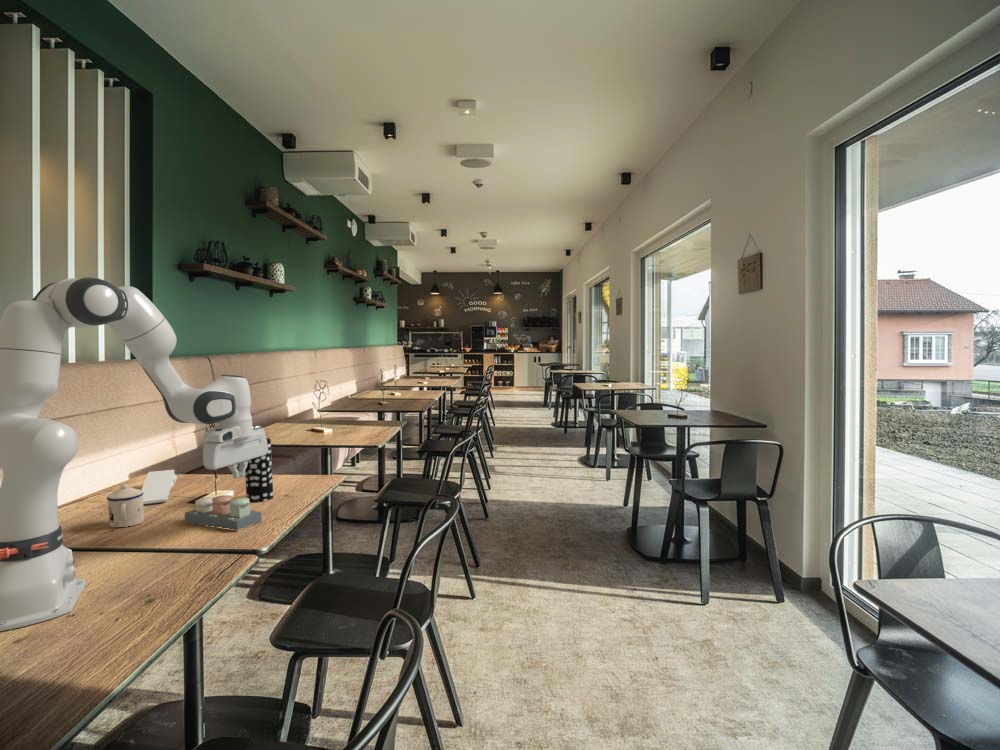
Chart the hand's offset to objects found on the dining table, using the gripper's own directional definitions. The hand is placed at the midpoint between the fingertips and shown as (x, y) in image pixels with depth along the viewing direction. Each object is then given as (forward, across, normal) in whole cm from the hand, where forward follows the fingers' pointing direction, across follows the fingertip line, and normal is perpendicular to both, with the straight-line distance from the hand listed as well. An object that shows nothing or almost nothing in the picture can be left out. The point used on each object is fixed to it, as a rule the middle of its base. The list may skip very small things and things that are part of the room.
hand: (238, 477), depth 165 cm
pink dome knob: (+12, 0, -7) cm, 14 cm away
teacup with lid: (+14, +12, -32) cm, 37 cm away
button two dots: (+12, 0, 0) cm, 12 cm away
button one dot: (+13, 0, -14) cm, 19 cm away
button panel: (+14, 0, -7) cm, 16 cm away
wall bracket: (+15, -13, -54) cm, 57 cm away
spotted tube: (+15, -22, -15) cm, 30 cm away
